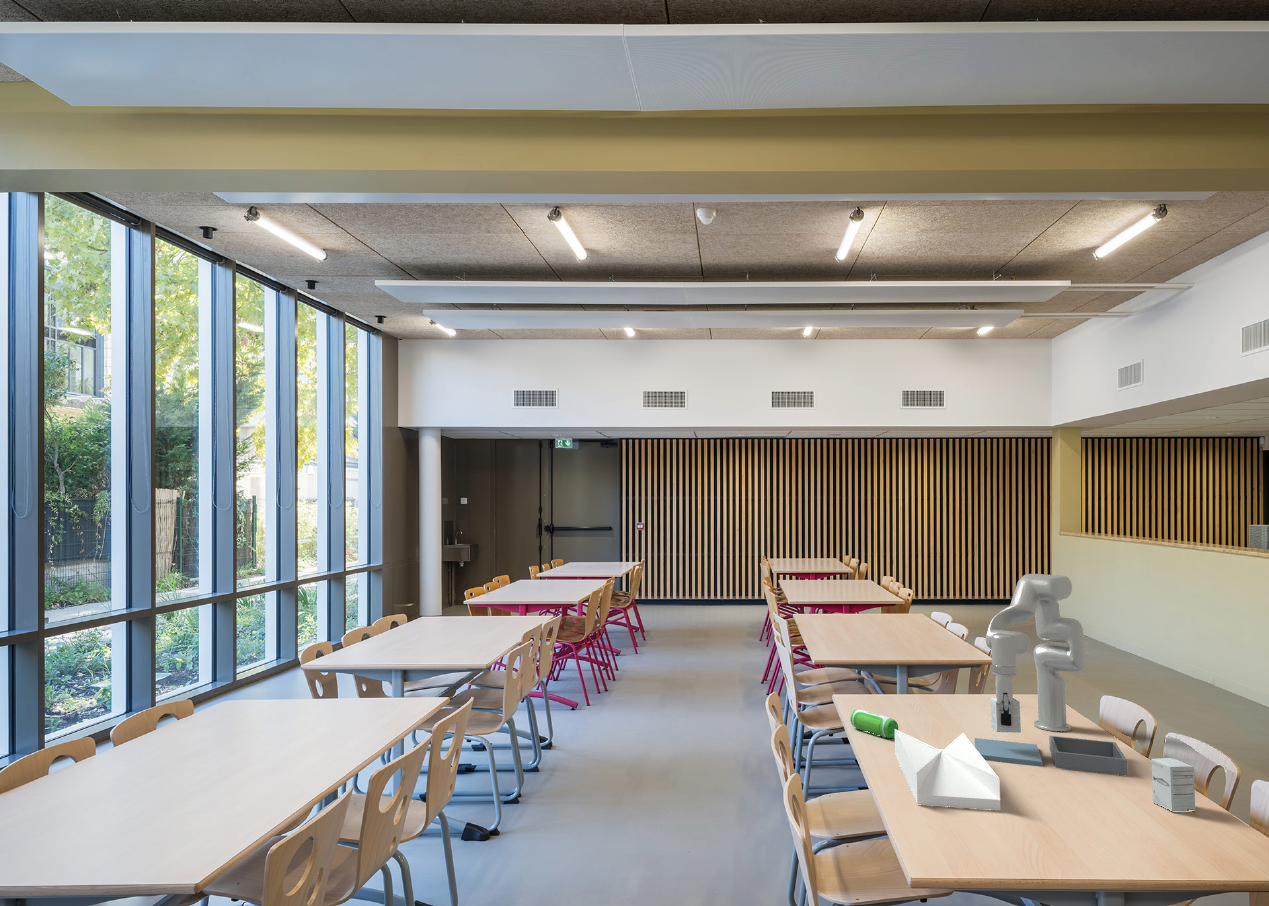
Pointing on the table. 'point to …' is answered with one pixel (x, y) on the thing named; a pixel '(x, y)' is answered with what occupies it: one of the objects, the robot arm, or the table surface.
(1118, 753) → the rectangular frame
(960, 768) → the building model
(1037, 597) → the robot arm
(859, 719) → the speaker
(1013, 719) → the small box
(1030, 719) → the table surface
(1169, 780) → the supplement box
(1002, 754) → the board
